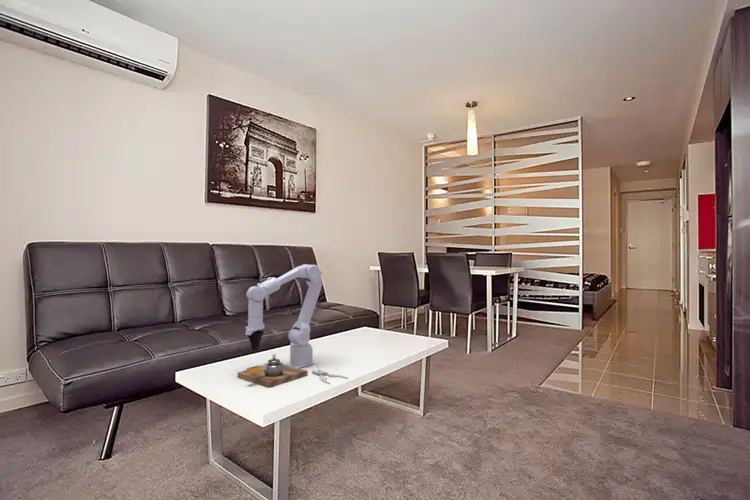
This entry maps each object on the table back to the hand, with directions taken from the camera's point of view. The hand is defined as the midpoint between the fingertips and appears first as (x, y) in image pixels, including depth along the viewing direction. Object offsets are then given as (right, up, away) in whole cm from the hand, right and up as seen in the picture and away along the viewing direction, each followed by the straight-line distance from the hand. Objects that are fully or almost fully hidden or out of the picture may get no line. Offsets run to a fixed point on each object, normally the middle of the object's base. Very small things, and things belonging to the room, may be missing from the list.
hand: (255, 349), depth 165 cm
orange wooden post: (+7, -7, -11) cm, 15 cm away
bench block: (+9, -9, -5) cm, 14 cm away
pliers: (+30, -10, -5) cm, 32 cm away
